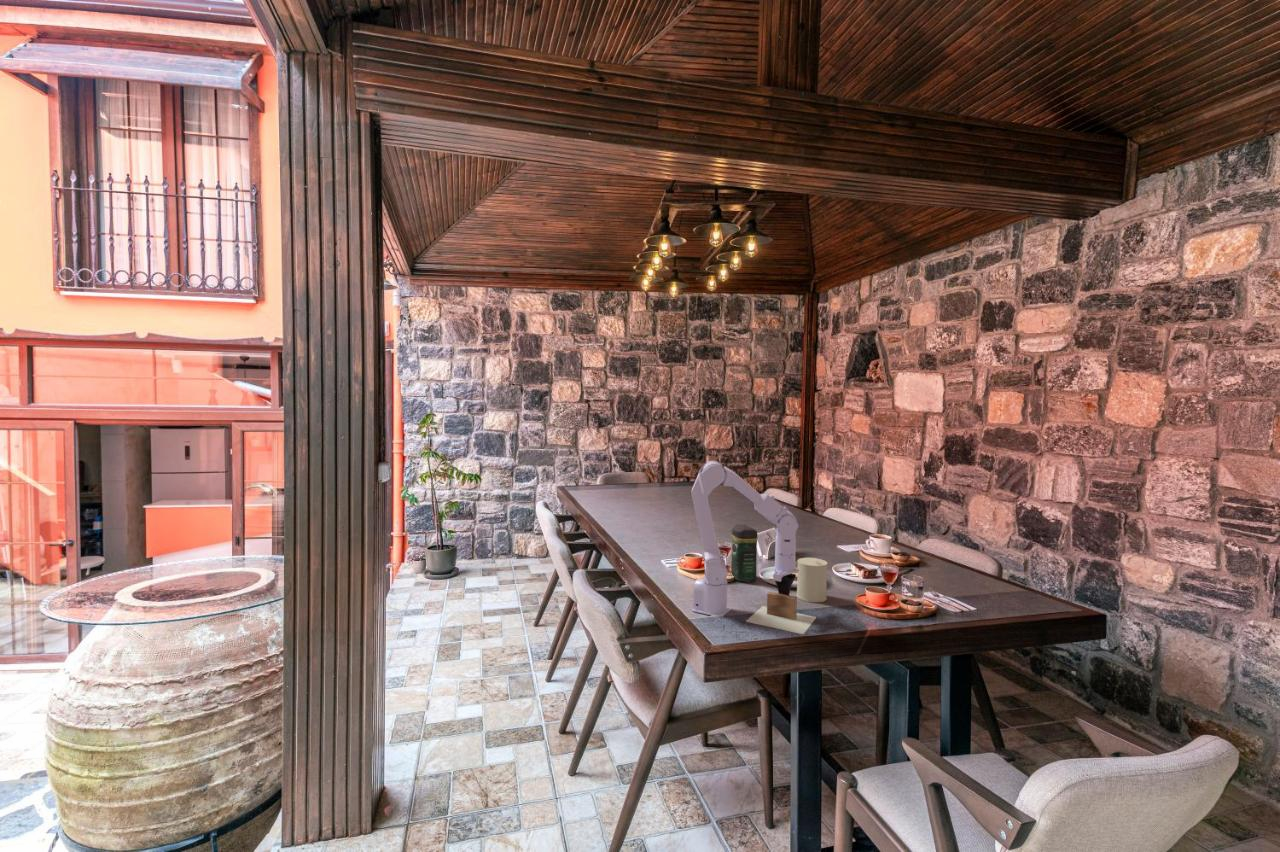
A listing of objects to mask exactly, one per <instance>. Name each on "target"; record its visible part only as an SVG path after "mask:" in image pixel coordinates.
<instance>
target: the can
mask: <svg viewBox="0 0 1280 852" xmlns="http://www.w3.org/2000/svg"><path fill="white" fill-rule="evenodd" d="M797 569H799V572H798V573H797V582H796V584H797V585H796V586H797V587H796V596H795V597H797V599H799V600H801V601H804V602H808V603H823V602H825V601H827V581H828V579H827V578H828V577H827V576H828V562H827V560H823V559H820V558H817V557H801V558H798V559H797Z"/></svg>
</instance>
